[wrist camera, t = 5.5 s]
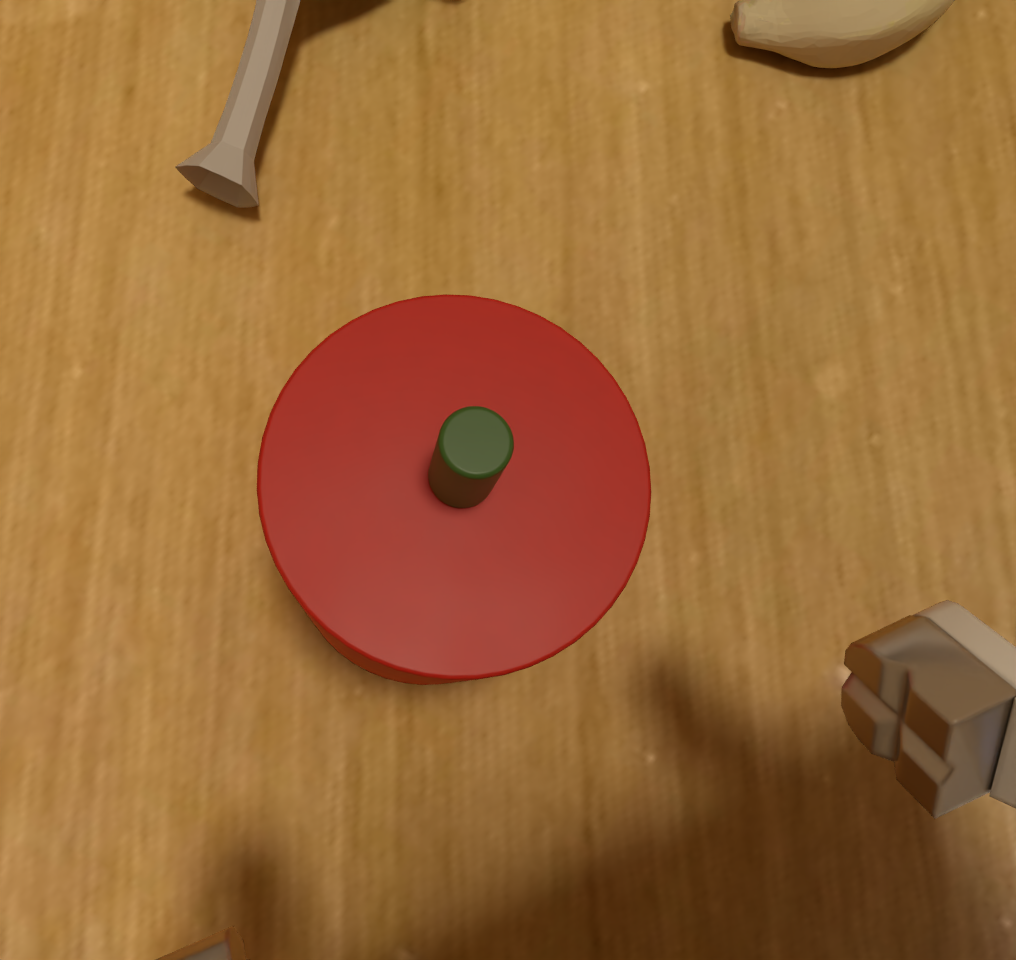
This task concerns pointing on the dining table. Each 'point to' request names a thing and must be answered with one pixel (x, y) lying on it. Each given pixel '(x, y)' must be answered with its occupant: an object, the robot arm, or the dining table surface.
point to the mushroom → (245, 110)
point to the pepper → (453, 489)
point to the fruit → (832, 27)
